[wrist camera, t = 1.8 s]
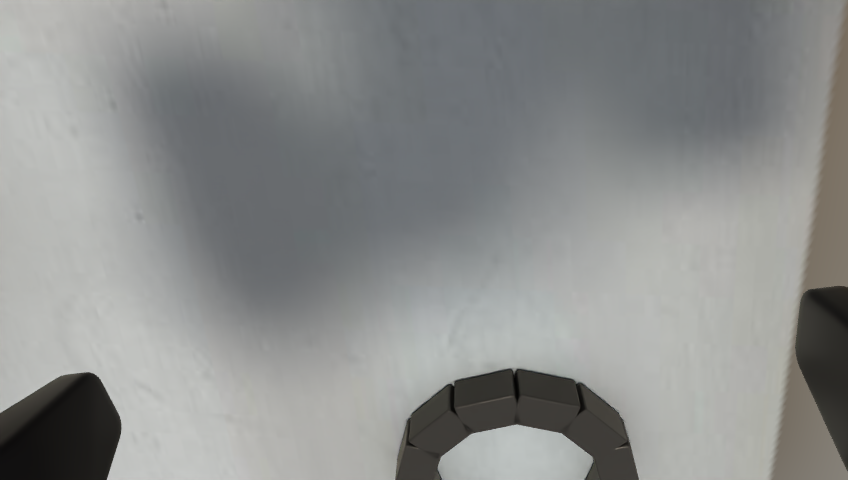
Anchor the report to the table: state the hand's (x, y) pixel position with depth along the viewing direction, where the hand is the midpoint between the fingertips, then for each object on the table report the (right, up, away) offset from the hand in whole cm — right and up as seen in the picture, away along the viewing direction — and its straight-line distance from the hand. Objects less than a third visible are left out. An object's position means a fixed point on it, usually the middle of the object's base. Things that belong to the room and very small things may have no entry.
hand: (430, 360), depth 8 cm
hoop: (+4, -7, +18) cm, 19 cm away
